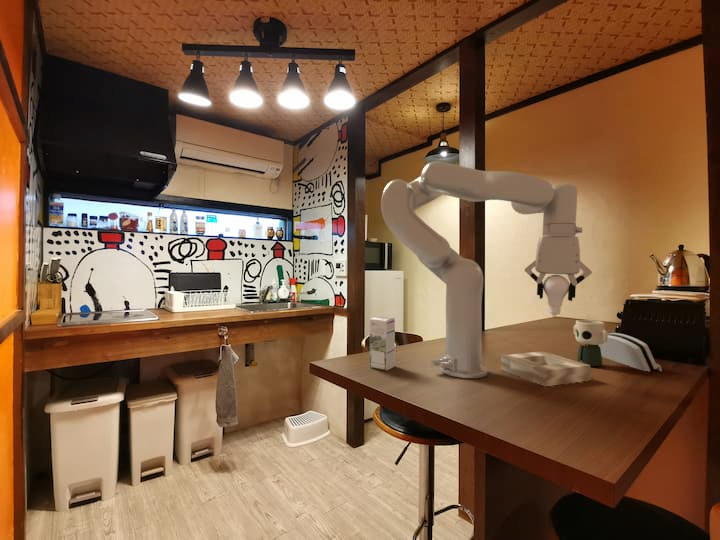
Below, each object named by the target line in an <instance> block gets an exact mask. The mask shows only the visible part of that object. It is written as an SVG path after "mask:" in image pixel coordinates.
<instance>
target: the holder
mask: <svg viewBox="0 0 720 540" xmlns="http://www.w3.org/2000/svg"><path fill="white" fill-rule="evenodd" d="M500 370H502V371H503V372H505V373H509V374H511V373H512V374H511V375H513V374H514V375H513V376H516V375H517V376H516V377H518V376H520V377H519V378H521V377H522V378H521V379H523V378H525V379H524V380H526V379H528V380H530V381H529V382H531V381H533V382H535V383H537V384H536V385H538V384H540V385H543V386H551V385H558V384H565V383H572V384H576V383H575V382H579V383H583V382H582V381H586V382H590V381H591V366H590V365H588V364H584V363H583V362H581V361H580V362H577V360H573V359H569V358H566V357H564V356H559V355H556V354H553V353H549V352H545V351H532V352H523V353H522V352H521V353H513V354H503V355H500ZM528 380H527V381H528ZM589 380H590V381H589ZM533 382H532V383H533ZM535 383H534V384H535ZM540 385H539V386H540ZM565 385H566V384H565ZM543 386H542V387H543ZM558 386H559V385H558ZM551 387H552V386H551Z"/></svg>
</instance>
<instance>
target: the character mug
mask: <svg viewBox="0 0 720 540" xmlns="http://www.w3.org/2000/svg"><path fill="white" fill-rule="evenodd" d="M573 334H574V336H575V340H576V341H577V342H578V343H580V345H579V347H578V351H577V352H578V353H577V360H576V361H577V362H581V361H582V363H584V364H588V365H590V367H591V366H592V367H596V366H601V365H603V364H604V363H603V357H602V355H601V349H600V347H599V346H598V345H601V344H604V342H607V340H608V334H609V333H608V331H607V330H605V322H603V321H600V320H591V319H577V320H575V324H574V325H573Z"/></svg>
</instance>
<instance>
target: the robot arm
mask: <svg viewBox="0 0 720 540" xmlns="http://www.w3.org/2000/svg"><path fill="white" fill-rule="evenodd" d="M442 195H444V196H447V197H448V196H449V197H452V198H455V199H456V198H457V199H460V200H463V201H468V202H474V203H475V202H476V203H477V202H485V201H506V202H510V204H511V205H510V206H511V207H512V210H514V211H515V212H516V213H518V214H520V215H535V214H542V215H543V216H542V217H543V219H542V221H543V222H542V236H540V237H539V239H538V241H537V245H536V246H537V248H536V253H535V254H536V256H535V260H534V261H532V263H530V264H529V265H527V267H525V268H524V272H525V273H527V275H529V276H530V278H531V279H533V281H534V282H536V284H537V287H536V295H537V296H539V299H543V298H544V289H543V283H544V281H543V280H544V278H545V276H546V274H547V275H552V274H553V275H567V277H568V279H569V285H570V286H569V291H568V293H567V300H568V301H569V302H573V299H574V298H576V292H577V291H576V289H577V287H576V286H577V285H578V284H580V283H581V282H583V281H584V280H585V279H586V278H588V277H589V276H590V275H591V274H593V271H592V270H591V269H590V268H588V266H586V265H585V263H584V262H582V261H581V249H580V241H579V240H580V239H579V237H578V236H576V234H579V233H580V234H581V233H583V227H579V226H577V222H576V221H577V210H578V209H577V208H578V206H577V205H578V188H577V186H576V185H575V184H571V183H557V184H554V185H552V184H551V182H549V181H548V180H546V179H544V178H542V177H539V176H534V175H530V174H528V173H527V174H525V173H522V172H515V171H505V170H504V171H502V170H501V171H499V170H497V171H496V170H479V169H476V168H470V167H466V166H462V165H458V164H457V165H456V164H453V163H448V162H446V161H445V162H444V161H438V160H435V161H431V162H429V163H427V164H426V165H425V166H424V167H423V169H422V170H421V173H420V176H419V177H418V178H416V179H414V180H412V181H410V182H407V181H405V180H403V179H397V178H396V179H393V180H391V181H389V182H388V183H387V184H386V186H384V189H383V191H382V195H381V199H380V210H381V211H380V212H381V215H382V218H383V221H384V224H385V225H386V226H387V228H388V229H389V231H390V232H391V233H392V234H393V235H394V236H395V238H397V239H398V240H399V241H400V242H401V243H402V244H403V245H404V246H405V247H406V248H407V249H409V250H410V251H411V252H412V253H413V254H414V255H415V256H416V257H417V259H418V261H419V262H420V263H421V265H423V266H424V267H425V268H427V269H428V270H429V271H430V272H431V273H432V274H433V275H435V276H436V277H437V278H439V280H441V281H442V282H443V283H444V284H445V290H446V291H445V353H442V355H441V357H440V358H431V359H430V363H429V364H430V366H431V367H439V368H440V369H439V370H440V371H441V373H443V374H444V375H448V376H451V377H455V378H461V379H479V378H480V379H481V378H483V377H486V376H487V375H488V368H487V367H485V366H484V365H482V352H483V351H482V346H483V345H482V339H483V338H482V333H483V332H482V331H483V330H482V326H483V325H482V318H483V317H482V306H483V305H482V300H483V299H482V298H483V291H484V290H483V289H484V273H483V271H482V268H481V267H480V265H479V264H478V263H477V262H476V261H474V260H473V259H469V258H464V257H463V256H461V255H460V254H459V253H458V252H457V251H455V250H454V249H453V248H452V247H451V245H450V242H449V241H448V240H447V239H446V238H445V237H444V236H442V235H441V234H439V233H438V232H437V231H435V229H433V228H431V226H429V225H428V224H427V223H426V222H425V221H424V220H423V219H421V217H419V215H417V213H416V212H415V211H416V210H417V209H420V208H422V207H423V206H425V205H427V204H429V203H431V202H432V201H434V200H436V199H438V198H439V197H441V196H442ZM534 268H535V271H536V272H537V273H539V275H538V276H537V274H535V273H534V272H533V269H534ZM580 270H582V273H581V274H580V275H579V276H577V277H576V276H575V275H576V274H579V273H580Z"/></svg>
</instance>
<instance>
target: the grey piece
mask: <svg viewBox="0 0 720 540" xmlns="http://www.w3.org/2000/svg"><path fill="white" fill-rule="evenodd" d="M598 346H599V347H600V349H601V355H602V358H605V359H607V360H610V361H614V362H616V363H619V364H623V365H625V366H628V365H629V366H628V367H631V368H634V369H636V370H640V371H643V372H646V371H648V372H651V369H652V370H656V371H658V372H662V371H663V370H662V366H661V365H660V364H658V363H656V361H655V359H654V356H653V354H652V351H651V350H650V348H649V346H648V344H647V343H645V341H641V340H640V339H638V338H636V337H633V336H630V335H627V334H624V333H619V332H611V333H610V332H609V333H608V340H607V342H604V344H601V345H598Z"/></svg>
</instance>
